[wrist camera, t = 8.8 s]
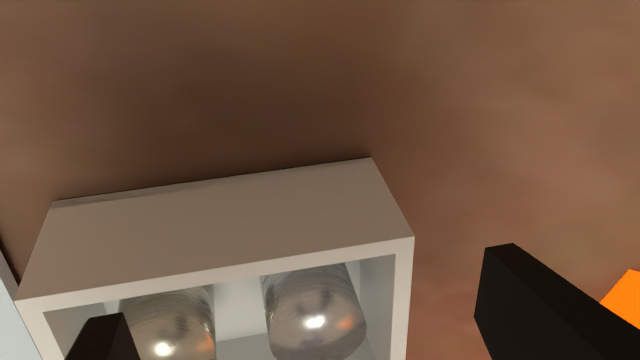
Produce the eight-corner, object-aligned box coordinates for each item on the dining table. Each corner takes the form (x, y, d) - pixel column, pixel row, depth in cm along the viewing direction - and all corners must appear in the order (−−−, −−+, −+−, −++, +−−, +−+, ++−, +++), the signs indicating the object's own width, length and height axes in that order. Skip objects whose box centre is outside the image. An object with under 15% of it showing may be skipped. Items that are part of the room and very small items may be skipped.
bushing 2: (342, 286, 24) (366, 359, 21) (262, 300, 23) (274, 377, 20) (340, 223, 22) (366, 292, 19) (253, 237, 21) (264, 311, 18)
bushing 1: (218, 307, 23) (223, 386, 20) (133, 323, 23) (123, 406, 19) (205, 244, 21) (208, 320, 18) (112, 259, 21) (96, 340, 17)
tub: (371, 156, 21) (414, 236, 17) (368, 314, 26) (401, 405, 22) (51, 201, 19) (13, 301, 15) (114, 360, 24) (98, 468, 20)
